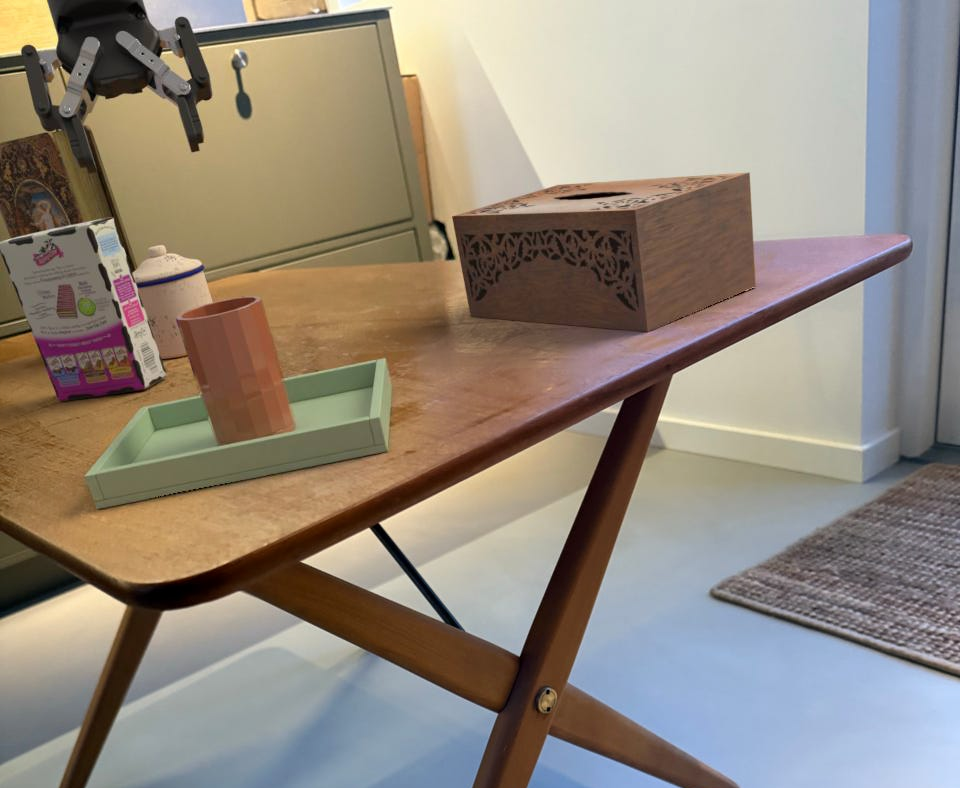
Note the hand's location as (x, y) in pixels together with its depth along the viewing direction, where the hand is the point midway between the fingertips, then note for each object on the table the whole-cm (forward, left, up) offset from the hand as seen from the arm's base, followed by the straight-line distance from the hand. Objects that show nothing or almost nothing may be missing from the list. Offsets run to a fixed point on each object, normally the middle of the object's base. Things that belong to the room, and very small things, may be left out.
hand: (143, 157), depth 85 cm
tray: (+5, -15, -21) cm, 26 cm away
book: (-22, +41, -21) cm, 51 cm away
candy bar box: (-15, +16, -21) cm, 31 cm away
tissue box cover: (+38, +10, -21) cm, 44 cm away
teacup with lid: (-11, +30, -21) cm, 39 cm away
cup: (+6, -15, -20) cm, 26 cm away
